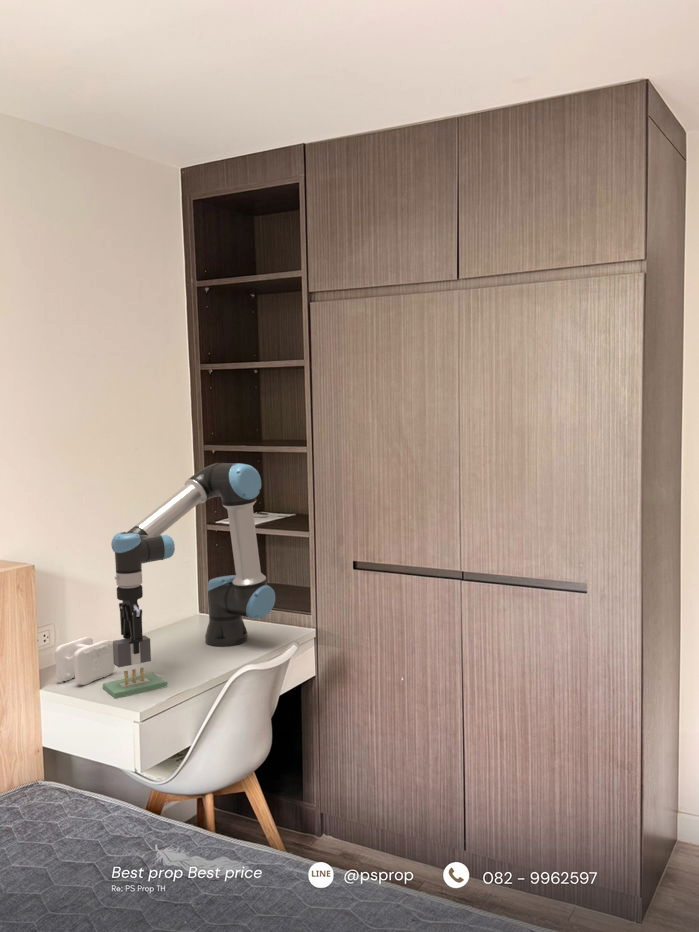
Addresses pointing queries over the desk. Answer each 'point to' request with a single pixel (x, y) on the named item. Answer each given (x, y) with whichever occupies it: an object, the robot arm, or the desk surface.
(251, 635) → the desk surface
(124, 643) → the block
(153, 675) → the board
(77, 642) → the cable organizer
